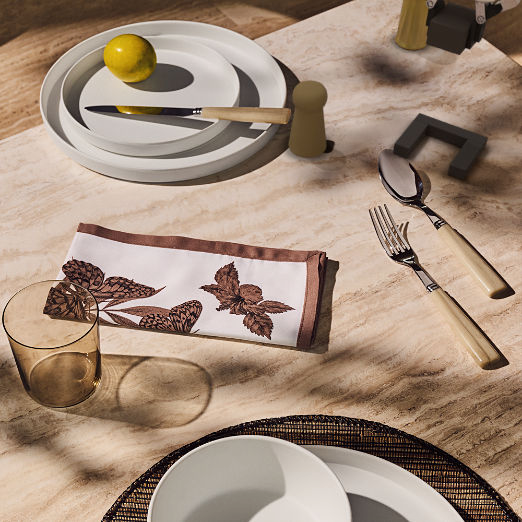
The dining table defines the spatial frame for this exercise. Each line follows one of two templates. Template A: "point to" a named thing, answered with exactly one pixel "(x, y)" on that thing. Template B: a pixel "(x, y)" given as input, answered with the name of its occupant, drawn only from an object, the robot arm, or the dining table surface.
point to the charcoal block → (451, 28)
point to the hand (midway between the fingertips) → (452, 37)
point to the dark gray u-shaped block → (446, 132)
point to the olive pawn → (308, 119)
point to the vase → (412, 25)
